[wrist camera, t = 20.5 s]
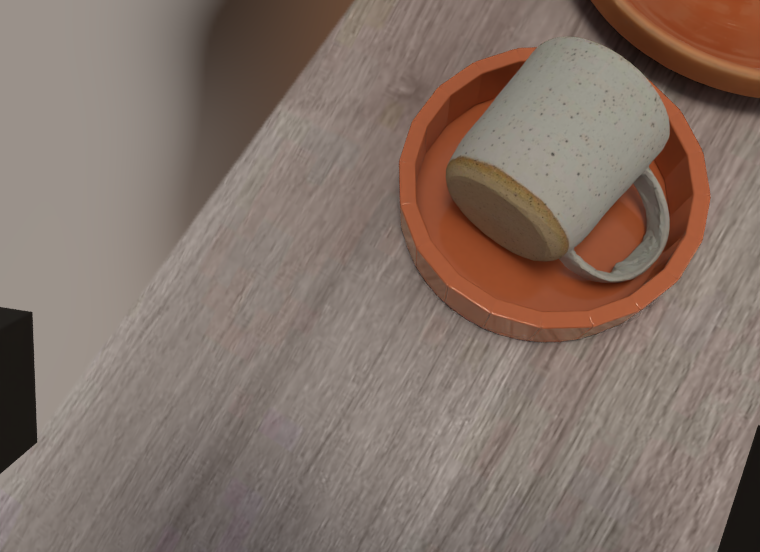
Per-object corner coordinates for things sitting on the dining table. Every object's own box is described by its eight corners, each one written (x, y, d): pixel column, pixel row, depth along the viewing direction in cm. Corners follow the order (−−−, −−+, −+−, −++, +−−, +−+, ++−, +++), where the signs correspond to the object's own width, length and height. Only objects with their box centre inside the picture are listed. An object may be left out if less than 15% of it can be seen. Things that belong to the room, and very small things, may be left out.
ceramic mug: (429, 205, 34) (437, 135, 27) (521, 95, 36) (553, 1, 29) (600, 329, 32) (659, 291, 25) (689, 208, 34) (770, 137, 27)
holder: (363, 132, 36) (359, 98, 33) (608, 52, 37) (628, 11, 34) (457, 382, 32) (463, 372, 29) (730, 287, 33) (766, 266, 30)
